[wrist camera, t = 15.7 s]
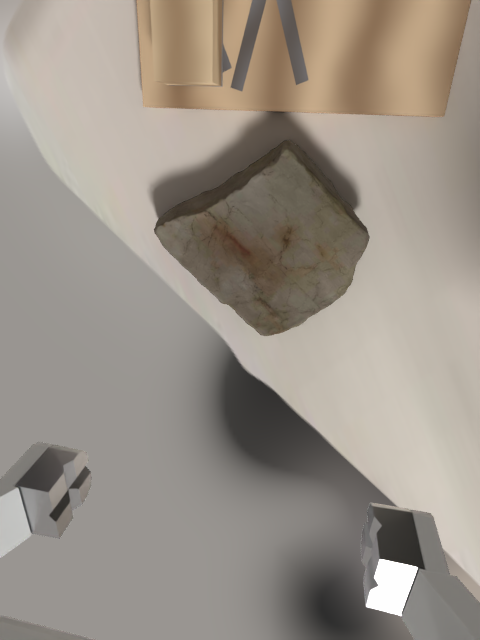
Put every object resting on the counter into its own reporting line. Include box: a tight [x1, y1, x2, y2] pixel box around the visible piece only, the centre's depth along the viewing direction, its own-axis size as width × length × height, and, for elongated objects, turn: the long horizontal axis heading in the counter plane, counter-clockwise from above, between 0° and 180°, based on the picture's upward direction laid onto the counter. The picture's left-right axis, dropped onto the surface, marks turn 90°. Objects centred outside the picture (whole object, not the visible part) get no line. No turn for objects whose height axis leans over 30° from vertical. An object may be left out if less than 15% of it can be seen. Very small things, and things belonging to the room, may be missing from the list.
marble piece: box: [154, 140, 369, 336], centre depth 36 cm, size 17×15×4 cm
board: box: [136, 0, 471, 117], centre depth 30 cm, size 24×10×2 cm, turn 88°
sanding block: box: [150, 0, 224, 87], centre depth 29 cm, size 4×7×4 cm, turn 178°
